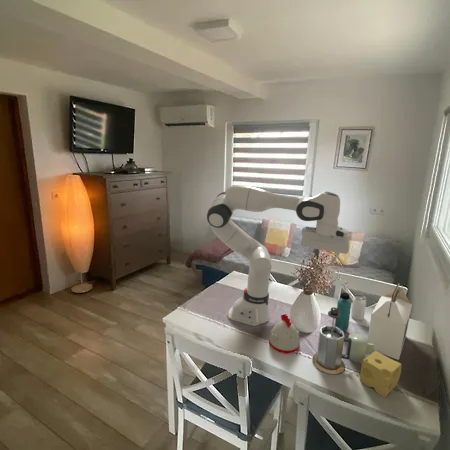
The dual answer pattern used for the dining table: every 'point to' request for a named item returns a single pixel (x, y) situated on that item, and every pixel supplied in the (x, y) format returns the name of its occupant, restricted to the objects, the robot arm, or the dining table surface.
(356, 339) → the mug
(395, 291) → the gable box
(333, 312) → the plunger
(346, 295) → the beverage bottle
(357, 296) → the can
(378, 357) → the cheese
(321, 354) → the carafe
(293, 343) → the kitchen timer
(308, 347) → the dining table surface
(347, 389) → the dining table surface
